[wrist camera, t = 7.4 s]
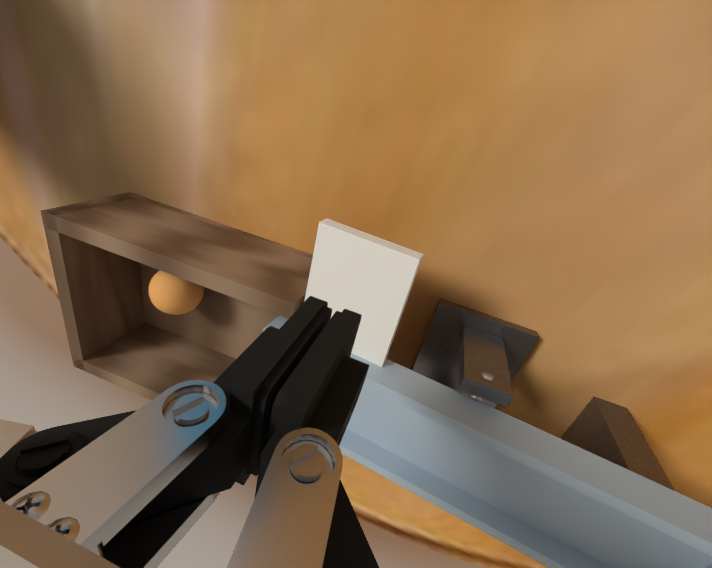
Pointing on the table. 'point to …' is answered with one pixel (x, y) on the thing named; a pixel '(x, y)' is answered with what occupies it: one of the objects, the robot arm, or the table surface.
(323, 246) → the lever
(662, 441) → the table surface
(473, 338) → the stand
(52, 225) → the box
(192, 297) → the ball
